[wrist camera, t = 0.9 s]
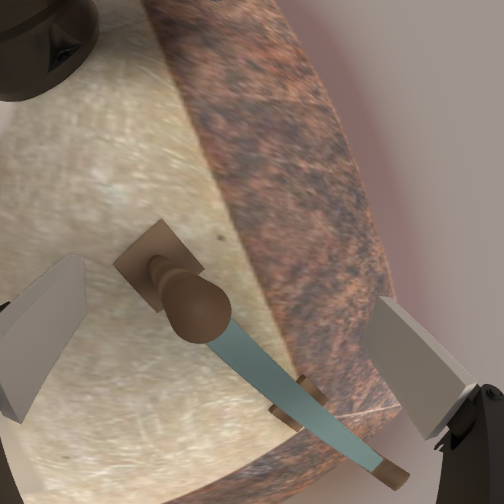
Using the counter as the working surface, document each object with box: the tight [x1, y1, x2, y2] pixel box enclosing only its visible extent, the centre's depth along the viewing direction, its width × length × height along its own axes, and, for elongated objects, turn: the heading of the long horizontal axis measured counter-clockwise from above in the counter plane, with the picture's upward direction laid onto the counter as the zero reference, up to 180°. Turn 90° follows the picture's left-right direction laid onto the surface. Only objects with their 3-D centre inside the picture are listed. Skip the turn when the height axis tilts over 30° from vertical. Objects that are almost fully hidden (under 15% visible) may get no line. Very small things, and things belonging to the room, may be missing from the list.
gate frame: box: [113, 219, 410, 491], centre depth 20 cm, size 30×6×18 cm, turn 41°
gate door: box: [205, 318, 383, 472], centre depth 21 cm, size 21×2×14 cm, turn 41°
